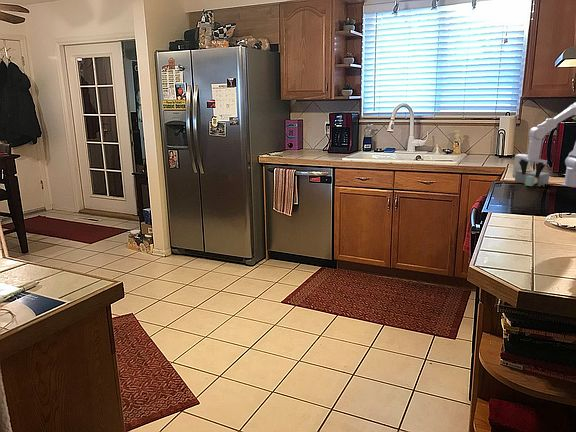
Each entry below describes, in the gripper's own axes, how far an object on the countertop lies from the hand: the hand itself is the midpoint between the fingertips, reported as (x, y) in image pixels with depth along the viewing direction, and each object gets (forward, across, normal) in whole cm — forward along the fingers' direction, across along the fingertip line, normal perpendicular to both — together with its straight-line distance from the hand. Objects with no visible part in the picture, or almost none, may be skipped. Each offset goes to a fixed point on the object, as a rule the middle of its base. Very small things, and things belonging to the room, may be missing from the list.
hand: (530, 175), depth 255 cm
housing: (+6, -4, +9) cm, 11 cm away
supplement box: (+6, -17, +19) cm, 26 cm away
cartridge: (+5, 0, +5) cm, 7 cm away
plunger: (+3, -7, +9) cm, 11 cm away
